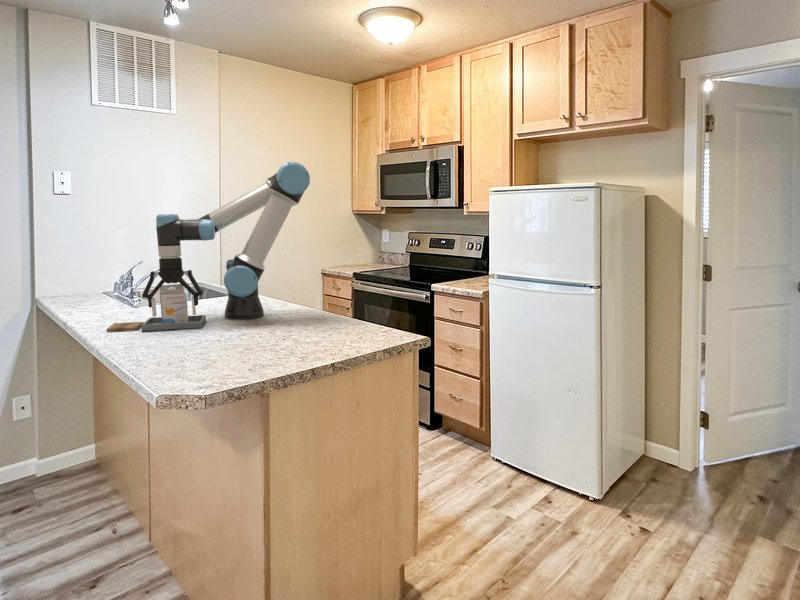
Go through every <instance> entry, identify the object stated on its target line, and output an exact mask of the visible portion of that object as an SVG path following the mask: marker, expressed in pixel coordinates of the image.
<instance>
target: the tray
mask: <svg viewBox="0 0 800 600" xmlns="http://www.w3.org/2000/svg"><path fill="white" fill-rule="evenodd" d="M143 322H144V323H143V324H142V325H141V328H140V329H141V333H150V332H151V333H153V332H154V333H155V332H171V331H172V332H173V331H174V332H175V331H190V330H191V331H192V330H203V328H204V326H205V324H206V323H207V315H206V314H200V315H199V314H198V315H196V314H195V315H188V323H169V324H162V316H158V317H156V316H155V317H148V319H146V320H145V321H143Z"/></svg>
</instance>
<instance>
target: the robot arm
mask: <svg viewBox="0 0 800 600" xmlns="http://www.w3.org/2000/svg"><path fill="white" fill-rule="evenodd" d="M310 183H311V177H310V173H309V171H308V170H307V168H306V167H305V166H304V164H301V163H300V162H298V161H287V162H285V163H283V164H281V166H280V167H279V168H278V170H277V172H276V173H275V174H273V175H272V176H270V177H268V178H266V181H265V183H263V184H260V186H257V187H255V188H253V189H252V190H249V191H248V192H246V193H244V194H243V195H240V196H238V197H237V198H234V199H233V200H231V201H229V202H227V203H226V204H223V205H221V206H220V207H218V208H217V209H214V210H213V211H211V212H209V213H207V214H205V215H204V216H201V217H199V218H196V219H180V216H179V214H175V213H171V214H169V213H166V214H161V213H160V214H157V215H156V218H155V219H156V220H155V221H156V222H155V223H156V224H155V225H156V227H155V229H156V239H157V240H156V241H157V250H158V257H159V259H158V264H159V271H155V270H152V271H150V273H149V276H150V277H149V279H148V282H147V283H146V286H145V288H144V290H143V292H142V294H141V295H142V298H145V299H147V301H148V303H147V304H148V308H150V309H151V312H152V318H155V317H156V316H157V307H156V298H155V297H154V296H155V295H156V293H157V292H159V291H160V287H161V286H162V285H164V284H178V283H179V284H182V285H183V288H185V289H186V291H188V292H189V293H190V294H191V295H192V297H191V307H192V308H191V309H192V316H196V314H197V310H196V306H198V305H199V296H202V295H203V293H204V292H203V289H201V286H199V284H198V282H197V281H196V278H195V277H194V275H193V270H192V269H188V270H184V269H183V258H182V257H181V256H182V246H181V245H182V244H181V241H182V242H185V241H204V242H205V241H213V240H214V239H215V238H216V234H217V233H218V232H220V231H221V230H223V229H225V228H227V227H229V226H231V225H232V224H234V223H236V222H238V221H239V220H242V219H243V218H245V217H247V216H250V215H251V214H253V213H255V212H256V211H258V210H260V209H262V208H263V207H264V208H263V210H262V212H261V214H260V216H259V218H258V220H257V222H256V224H255V226H254V228H253V230H252V232H251V233H250V236H249V238H248V240H247V241H246V244H245V246H243V250H242V251H241V252H240V253H238V254H235V255H234V258H233V259H228V260H226V265H225V268H226V272H225V274H224V276H223V285H224V287H225V289H226V290H227V295H228V296H227V297H228V298H227V302H226V305H225V309H224V318H225V319H227V320H234V321H235V320H236V321H237V320H238V321H239V320H242V321H243V320H252V319H258V318H262V317H263V316H264V312H265V311H264V307H263V304H262V303H261V299H260V297H259V296H260V295H259V281H260V279H261V277H262V276H263V273H264V271H265V266H264V262H265V260H266V259H267V256H268V255H269V254H270V253H269V252H270V251H271V248H272V246H273V244H274V243H275V241H276V239H277V237H278V235H279V233H280V231H281V229H282V227H283V225H284V223H285V221H286V219H287V217H288V215H289V213H290V211H291V209H292V207H294V206H298V205H299V203H300V201H301V199H302V198H303V195H304V193H305V192H306V190H307V189H308V187H309V185H310ZM184 275H185V276H186V277H188V279H189V281H190V283H191V284H192V286H193V287H194V289H195V290H194V289H193V287H192V286H190V285H189V283H187V282H186V280H185V279H183V277H184ZM158 276H159V277H160V278H161V280H160V281H159V282H158V284H156V286H155V288H153V290H151V287H152V285H153V283H154V281H155V279H156V278H157V277H158ZM150 290H151V292H150ZM149 292H150V293H149Z"/></svg>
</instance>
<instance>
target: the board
mask: <svg viewBox="0 0 800 600" xmlns="http://www.w3.org/2000/svg"><path fill="white" fill-rule="evenodd" d="M144 322H145V321H135V322H134V321H131V322H114V323H113V324H111V325H110V326H108V327H107V328H106V333H116V332H117V333H118V332H119V333H120V332H136V331H139V330H140V329H141V325H142V324H143V323H144Z"/></svg>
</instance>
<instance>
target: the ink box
mask: <svg viewBox="0 0 800 600" xmlns="http://www.w3.org/2000/svg"><path fill="white" fill-rule="evenodd" d="M170 288H173V289H170ZM159 292H160V293H159V300H160V301H159V302H160V313H161V315H160V317H162V324H169V323H188V316H189V312H188V297H187V296H188V295H187V293H186V292H184V286H183V285H182V284H180V283H179V284H178V283H173V284H165V285H164V284H163V285H162V286H161V287H160V289H159Z"/></svg>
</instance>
